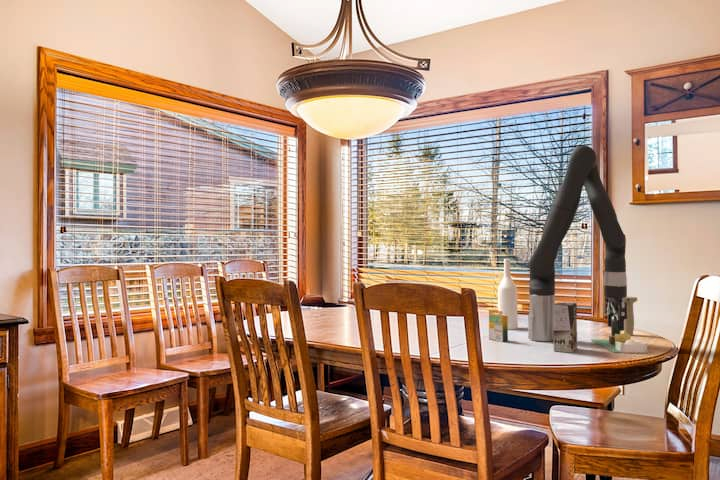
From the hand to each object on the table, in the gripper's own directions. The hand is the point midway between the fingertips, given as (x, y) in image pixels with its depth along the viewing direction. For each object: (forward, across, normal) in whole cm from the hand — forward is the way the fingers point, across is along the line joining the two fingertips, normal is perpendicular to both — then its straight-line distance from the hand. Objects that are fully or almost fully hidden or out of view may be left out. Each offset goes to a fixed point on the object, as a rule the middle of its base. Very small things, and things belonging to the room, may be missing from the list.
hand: (615, 328), depth 197 cm
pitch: (+6, +4, -1) cm, 7 cm away
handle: (+6, -18, +12) cm, 23 cm away
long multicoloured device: (+5, +3, 0) cm, 6 cm away
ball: (+3, +13, 0) cm, 13 cm away
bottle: (+6, -34, -32) cm, 47 cm away
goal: (+6, +13, 0) cm, 14 cm away
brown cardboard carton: (+6, +2, 0) cm, 6 cm away
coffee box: (+6, +10, -21) cm, 24 cm away
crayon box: (+6, -6, -41) cm, 42 cm away
